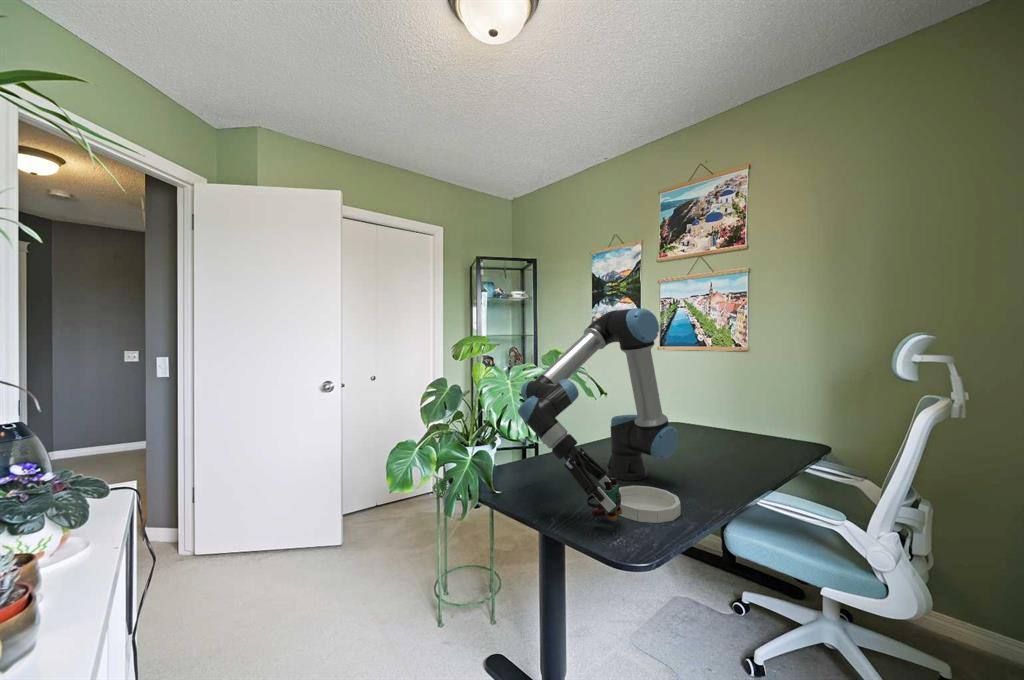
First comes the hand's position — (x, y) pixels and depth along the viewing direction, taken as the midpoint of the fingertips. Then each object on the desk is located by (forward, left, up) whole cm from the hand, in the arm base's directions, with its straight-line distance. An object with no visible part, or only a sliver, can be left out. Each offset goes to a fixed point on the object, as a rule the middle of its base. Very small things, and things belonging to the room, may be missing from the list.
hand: (615, 502), depth 118 cm
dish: (0, +18, -7) cm, 19 cm away
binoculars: (-3, -1, -4) cm, 5 cm away
